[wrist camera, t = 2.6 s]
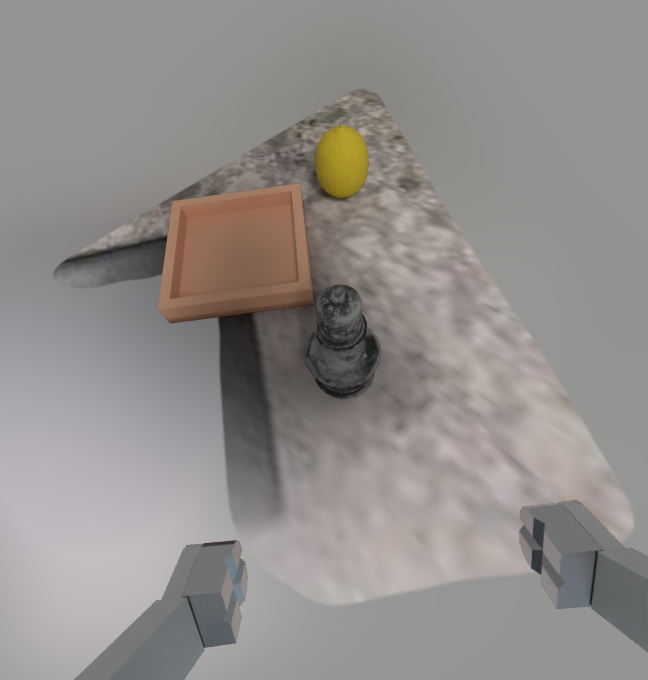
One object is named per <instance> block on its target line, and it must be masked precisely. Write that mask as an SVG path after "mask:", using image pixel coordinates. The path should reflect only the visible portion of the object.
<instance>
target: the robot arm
mask: <svg viewBox="0 0 648 680" xmlns="http://www.w3.org/2000/svg"><path fill="white" fill-rule="evenodd" d="M520 519H521V521H522V522H523V524H524V526H523V527H522V528H521V529H520V530H519V541H520V545H521V549H522V552H523V554H524V556H525V559H526V561H527V562H528V564H529V566H530V567H531V569H533V570H534V571H536V572H537V573H539V574H541V585H542V587H543V588H544V590H545V591H546V593H547V594H548V596H549V598H550V599H551V601H552V602H553V604H554V606H555V607H556V609H563V608H577V607H590V606H591V608H592V609H593V610H594V611H595V612H597V613H598V614H599V615H600V616H602V617H603V618H604V619H606V620H607V621H608V622H610V623H611V624H612V625H613V626H615V627H616V628H617V629H618V630H620V631H621V632H622V633H624V634H625V635H626V636H627V637H629V638H630V639H631V640H633V641H634V642H635V643H636V644H638V645H639V646H640V647H642V648H643V649H644V650H645V651H647V652H648V556H647V555H645V554H643V553H641V552H639V551H636V550H635V549H633V548H625V547H623V545H622V544H621V543H620V542H619V541H618V540H617V539H616V538H615V537H614V536H613V535H612V534H611V533H610V532H609V531H608V530H607V529H606V528H605V527H604V526H603V525H602V524H601V522H600V521H599V520H598V519H597V518H596V517H595V516H594V515H593V514H592V513H591V512H590V511H589V510H588V509H587V508H586V507H585V506H584V505H583V504H582V503H581V502H579V501H577V500H573V501H565V502H558V503H550V504H542V505H534V506H526V507H522V508H521V510H520ZM241 552H242V549H241V545H240V542H239V541H237V540H236V541H224V542H212V543H204V544H194V545H187V546H186V547H185V548H184V549H183V551H182V553H181V555H180V558H179V560H178V562H177V565H176V567H175V569H174V572H173V574H172V576H171V579H170V581H169V584H168V586H167V588H166V590H165V592H164V595H163V597H162V600H157V601H155V602H154V603H153V604H152V605H151V606H150V607H149V608H148V609H147V610H146V611H145V612H144V613H143V614H142V615H141V616H140V617H139V618H138V619H137V620H136V621H134V622H133V623H132V624H131V625H130V626H129V627H128V628H127V629H126V630H125V631H124V632H123V633H122V634H121V635H120V636H119V637H118V638H117V639H116V640H115V641H114V642H113V643H112V644H111V645H110V646H109V647H108V648H107V649H106V650H105V651H103V652H102V653H101V654H100V655H99V656H98V657H97V658H96V659H95V660H94V661H93V662H92V663H91V664H90V665H89V666H88V667H87V668H86V669H85V670H84V671H83V672H82V673H81V674H80V675H79V676H78V677H77V678H76V679H74V680H184V679H185V678H186V676H187V675H188V673H189V672H190V670H191V669H192V667H193V666H194V665H195V663H196V662H197V660H198V659H199V657H200V656H201V654H202V653H203V652H204V648H206V647H214V646H220V645H227V644H234V643H236V642H237V636H238V632H239V627H240V622H241V618H242V616H241V612H240V609H239V607H240V605H241V604H242V603H243V602H244V601H245V597H246V591H247V579H248V576H247V568H246V564H245V562H244V561H243V560H242V559H241V558H240V556H241Z"/></svg>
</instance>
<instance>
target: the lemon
mask: <svg viewBox="0 0 648 680" xmlns="http://www.w3.org/2000/svg"><path fill="white" fill-rule="evenodd" d="M368 168H369V158H368V152H367V147H366V144H365V141H364V139H363V138H362V136H361V135H360V134H359V133H358V132H357V131H356V130H355V129H353V128H351V127H348V126H343V125H338V126H335V127H333V128H331V129H329V130H328V131H327V132H325V134H324V135H323V136H322V137H321V139H320V141H319V143H318V145H317V149H316V156H315V170H316V174H317V178H318V181H319V183H320V185H321V186H322V188H323V189H324V190H325V191H326V192H327V193H328V194H330V195H332V196H334V197H337V198H346V197H349V196H352V195H354V194H355V193H357V192H358V191H359V190H360V189H361V187H362V186H363V184H364V182H365V180H366V178H367V173H368Z"/></svg>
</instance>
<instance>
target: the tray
mask: <svg viewBox="0 0 648 680" xmlns="http://www.w3.org/2000/svg"><path fill="white" fill-rule="evenodd" d="M313 304H314V299H313V289H312V280H311V270H310V261H309V251H308V242H307V232H306V223H305V213H304V204H303V197H302V191H301V185H300V183H297V184H290V185H283V186H276V187H269V188H262V189H255V190H248V191H241V192H234V193H227V194H220V195H213V196H206V197H199V198H192V199H185V200H177V201H172V209H171V216H170V223H169V230H168V238H167V245H166V252H165V259H164V267H163V274H162V282H161V289H160V296H159V303H158V310H159V312H160V313H161V314H162V315H163V316H164V317H165V318H166V319H167V320H168V321H169V322H170V323H177V322H184V321H192V320H200V319H207V318H215V317H223V316H230V315H238V314H245V313H253V312H261V311H268V310H276V309H283V308H291V307H298V306H306V305H313Z"/></svg>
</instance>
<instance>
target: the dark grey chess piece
mask: <svg viewBox="0 0 648 680" xmlns="http://www.w3.org/2000/svg"><path fill="white" fill-rule="evenodd" d="M316 314H317V320H316V323H315V326H314V332H313V333H312V335H311V336H310V338H309V340H308V342H307V345H306V349H305V359H306V362H307V366H308V368H309V370H310V371H311V373H312V374H313V376H315V379H316V382H317V384H318V385H319V387H320V388H321V389H322V390H323V391H324V392H325V393H327V394H329V395H331V396H333V397H336V398H341V399H345V398H352V397H356V396H358V395H360V394H362V393H363V392H365V391H366V390H367V389H368V387H369V386H370V385H371V383H372V381H373V379H374V374H375V371H376V369H377V367H378V365H379V362H380V357H381V349H380V344H379V341H378V339H377V337H376V335H375V334H374V333H373V332H372V330H371V329H370V328H368V327H367V322H366V320H365V317H364V316H363V314H362V301H361V299H360V296H359V294H358V293H357V291H356V290H354V289H353V288H352V287H349V286H346V285H334V286H330V287H328V288H326V289H325V290H324V291H322V292H321V293H320V295H319V296H318V298H317V302H316Z"/></svg>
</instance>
